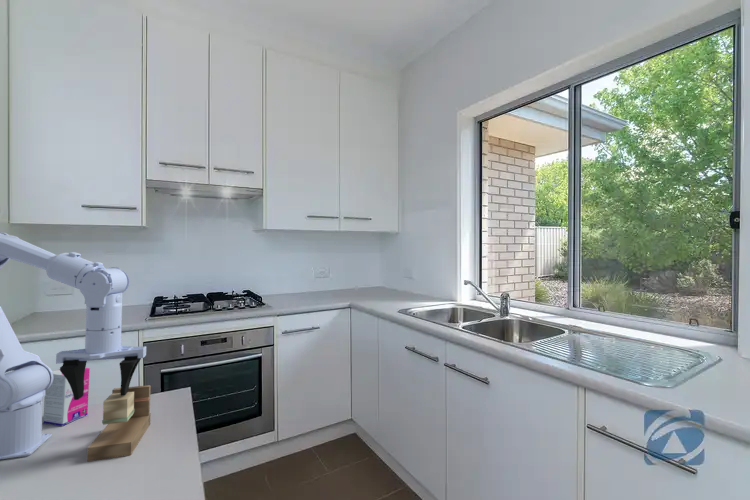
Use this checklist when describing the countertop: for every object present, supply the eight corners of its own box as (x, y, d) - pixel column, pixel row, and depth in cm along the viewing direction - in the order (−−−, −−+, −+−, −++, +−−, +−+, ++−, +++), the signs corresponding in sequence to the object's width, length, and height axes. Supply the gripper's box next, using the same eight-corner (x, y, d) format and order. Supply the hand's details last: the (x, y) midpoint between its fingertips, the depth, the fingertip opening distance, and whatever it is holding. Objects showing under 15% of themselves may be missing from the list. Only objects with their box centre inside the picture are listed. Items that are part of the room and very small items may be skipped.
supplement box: (63, 426, 78) (64, 375, 78) (42, 423, 79) (43, 373, 80) (89, 415, 84) (90, 367, 84) (69, 412, 85) (70, 365, 85)
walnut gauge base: (87, 461, 66) (88, 413, 66) (114, 428, 78) (115, 387, 78) (130, 455, 68) (131, 408, 68) (150, 423, 80) (151, 384, 80)
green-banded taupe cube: (102, 425, 68) (102, 401, 68) (110, 415, 72) (111, 393, 72) (127, 422, 70) (127, 399, 70) (134, 412, 74) (134, 391, 74)
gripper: (47, 334, 64) (45, 408, 64) (139, 330, 69) (137, 399, 69) (67, 326, 71) (65, 393, 71) (149, 323, 76) (148, 386, 76)
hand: (102, 395), depth 70 cm, fingers open, 7 cm apart
